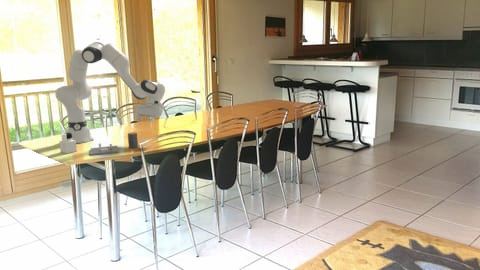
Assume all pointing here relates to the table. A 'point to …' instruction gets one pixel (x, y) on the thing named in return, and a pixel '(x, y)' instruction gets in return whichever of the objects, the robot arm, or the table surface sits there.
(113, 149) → the pin dock
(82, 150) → the table surface
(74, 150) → the medicine bottle
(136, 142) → the plug housing
